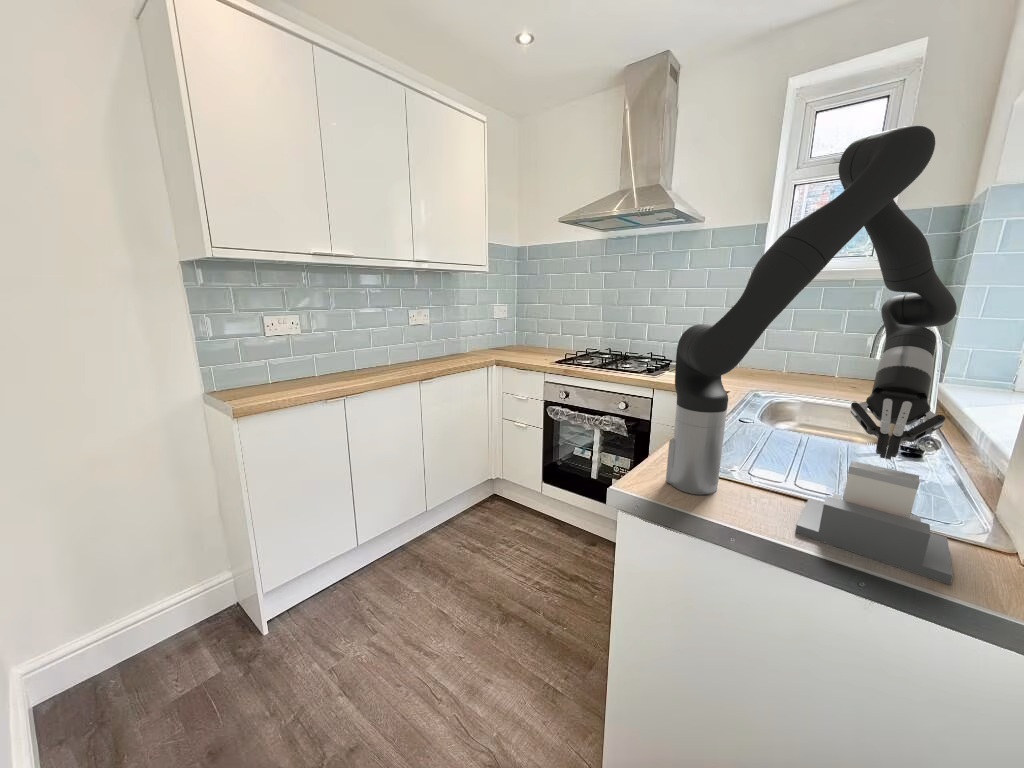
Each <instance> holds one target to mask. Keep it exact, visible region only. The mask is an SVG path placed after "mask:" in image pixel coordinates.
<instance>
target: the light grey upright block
mask: <svg viewBox="0 0 1024 768" xmlns="http://www.w3.org/2000/svg"><path fill="white" fill-rule="evenodd" d="M846 477H847V478H846V482H845V488H844V492H843V495H842V500H843V501H847V502H851V503H854V504H858V505H862V506H865V507H869V508H872V509H876V510H880V511H883V512H887V513H891V514H894V515H898V516H902V517H905V518H909V519H910V516H911V515H912V513H913V512H912V511H913V508H914V504H915V500H916V497H917V491H918V490H919V485H920V474H915V473H914V474H913V473H909V472H905V471H900V470H896V469H891V468H887V467H883V466H877V465H873V464H869V463H868V464H867V463H864V462H860V461H859V462H858V461H855V460H850V463H849V466H848V470H847V476H846Z"/></svg>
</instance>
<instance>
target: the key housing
mask: <svg viewBox="0 0 1024 768" xmlns="http://www.w3.org/2000/svg"><path fill="white" fill-rule="evenodd" d="M930 525H931V524H930V523H927V522H923V521H922V519H921V516H918V515H914V514H911V516H910V519H909V518H905V517H902V516H898V515H894V514H891V513H887V512H883V511H880V510H876V509H872V508H869V507H865V506H862V505H858V504H854V503H851V502H847V501H843V495H841V494H837V493H833V494H832V496H829V495H827V496H826V498H825V500H824V501H820V500H817V499H813V498H808V499H807V501H806V504H805V506H804V507H803V510H802V512H801V514H800V516H799V518H798V520H797V522H796V525H795V531H794V533H795V534H798V535H801V536H804V537H807V538H811V539H813V540H816V541H819V542H820V543H821V542H822V543H823V544H824V543H825V544H827V545H829V546H833V547H836V548H839V549H842V550H845V551H848V552H852V553H855V554H857V555H860V556H862V557H866V558H869V559H872V560H875V561H878V562H880V563H884V564H887V565H888V566H889V565H890V566H893V567H896V568H899V569H901V570H905V571H908V572H911V573H914V574H915V575H916V574H917V575H919V576H922V577H926V578H928V579H931V580H934V581H937V582H940V583H943V584H946V585H950V586H951V583H952V580H953V577H954V575H953V569H952V568H953V567H952V561H951V554H950V548H949V542H948V537H946V536H944V535H940V534H937V533H933V532H931V526H930Z"/></svg>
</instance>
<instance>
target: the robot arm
mask: <svg viewBox="0 0 1024 768" xmlns="http://www.w3.org/2000/svg"><path fill="white" fill-rule="evenodd" d="M935 148H936V136H935V134H934V132H933V130H931V129H930V128H929V127H927V126H923V125H906V126H901V127H896V128H892V129H888V130H883V131H880V132H877V133H872V134H869V135H865V136H862V137H860V138H858V139H855V140H854V141H853V142H851V143H850V144H849V145H848V146H847V148H845V150H844V152H843V153H842V155H841V157H840V159H839V164H838V177H839V181H840V183H841V186H842V188H843V191H842V192H841V193H839V194H838V195H837V196H835V197H834V198H833V199H831V200H829V201H828V202H827V203H825V204H824V205H821V206H820V207H819V208H817V209H816V210H814V211H813V212H810V214H808V215H806V216H805V217H803V218H801V219H800V220H799V221H796V223H794V224H793V225H792V226H790V227H789V228H788V229H787V230H785V231H784V232H783V233H782V234H781V235H780V236H779V237H778V238H777V239H776V240H775V242H773V244H771V246H770V247H769V248H768V249H767V250H766V252H765V253H764V254H763V255H762V256H761V257H760V259H759V260H758V261H757V263H756V264H755V266H754V268H753V270H752V272H751V274H750V276H749V278H748V281H747V284H746V286H745V289H744V291H743V292H742V294H741V296H740V298H739V299H738V300H737V302H736V303H734V305H733V306H732V307H731V308H730V309H729V310H728V311H727V312H726V313H725V314H724V315H723V316H722V317H721V318H720V319H719V320H718V321H716V323H715V324H713V325H712V324H708V323H701V324H699V323H698V324H695V325H692V326H690V327H689V328H687V329H686V330H685V331H684V332H683V333H682V335H681V336H680V338H679V340H678V343H677V346H676V354H675V372H674V387H675V388H674V389H675V392H676V404H675V418H674V427H673V436H672V438H671V439H669V441H668V442H669V443H668V450H667V451H668V453H667V461H666V462H667V463H666V474H665V483H668V484H670V485H671V486H672V487H674V488H676V489H677V490H678V491H682V492H684V493H688V494H691V495H698V496H699V495H700V496H701V495H702V496H703V495H704V496H706V495H711V494H714V493H715V492H717V491H718V485H719V479H720V478H719V476H720V469H721V463H722V462H721V461H722V455H723V445H724V437H725V430H726V429H725V428H726V420H727V412H728V404H729V394H728V393H727V392H726V389H725V388H724V385H723V383H722V376H723V375H726V374H727V373H729V372H731V371H732V370H733V369H735V368H736V367H737V366H738V365H739V363H740V362H741V361H742V360H743V359H744V357H745V356H746V355H747V354H748V352H749V351H750V350H751V349H752V347H753V346H754V345H755V344H756V343H757V341H759V339H760V337H761V336H762V335H763V333H764V332H765V331H766V329H767V328H768V327H769V326H770V325H771V324H772V322H773V321H774V320H775V319H776V318H777V317H778V316H779V315H780V314H781V313H782V312H783V311H784V310H785V309H786V308H787V307H788V305H790V304H791V302H792V301H794V299H795V298H796V297H797V296H798V295H799V294H800V293H801V292H802V291H803V290H804V289H805V288H806V287H807V286H808V285H809V284H810V283H811V282H812V281H813V280H814V279H815V278H816V277H817V276H818V275H819V274H820V273H821V272H822V271H823V270H824V269H825V267H826V266H827V265H828V264H829V262H830V261H832V259H833V258H834V257H835V256H836V255H837V254H838V253H839V252H840V251H841V250H842V249H843V248H844V247H845V245H847V243H849V242H850V241H851V240H852V238H854V237H855V236H856V235H857V234H858V233H859V232H860V231H861V230H862V229H863V228H864V229H865V232H867V235H868V236H869V239H870V241H871V243H872V246H873V248H874V251H875V254H876V257H877V260H878V264H879V267H880V272H881V275H882V279H883V282H884V285H885V288H886V289H888V290H889V291H891V292H896V293H908V294H900V295H894V296H892V297H890V298H889V299H887V300H886V301H885V302H884V303H883V305H882V307H881V317H882V321H883V326H884V330H885V343H884V347H883V351H882V352H883V353H882V356H881V358H880V360H879V362H878V365H877V369H876V372H875V378H874V381H873V386H872V388H871V389H872V390H871V394H870V395H869V396H867V398H866V400H865V401H863V402H856V401H854V402H852V403H851V404H850V414H851V415H852V416H853V417H854V419H856V421H857V423H859V425H860V426H861V427H862V428H863V430H864V431H865V432H866V434H868V435H870V436H875V437H877V444H876V447H875V448H876V449H875V454H876V455H879V458H881V459H885V460H891V459H892V458H896V457H897V456H898V454H899V450H900V446H901V442H908V443H914V442H916V441H918V440H919V439H921V438H924V437H925V436H928V435H929V434H931V433H933V432H935V431H936V430H939V429H941V428H942V427H943V425H944V423H945V420H946V417H945V415H943V414H936V413H935V412H932V410H931V406H930V404H929V402H928V399H929V395H930V390H931V389H930V388H931V382H932V379H933V371H934V356H935V350H936V346H937V335H936V334H935V332H933V330H932V329H929V328H933V327H934V328H935V327H941V326H944V325H946V324H948V323H950V322H952V320H953V319H954V318H955V316H956V314H957V303H956V302H957V301H956V300H955V298H954V296H953V294H952V293H951V292H950V291H949V289H948V288H947V286H945V284H944V283H943V281H941V279H940V277H939V276H938V274H937V272H936V270H935V267H934V262H933V258H932V254H931V249H930V245H929V242H928V241H927V238H926V237H925V235H924V233H923V232H922V231H921V229H919V227H918V226H917V225H916V224H915V223H914V221H912V220H911V219H910V218H909V217H908V216H907V215H906V214H905V213H904V212H903V210H902V209H901V208H900V207H899V206H898V204H897V202H896V201H895V198H897V197H898V196H899V195H900V194H901V193H903V191H905V190H906V189H907V188H908V187H909V186H910V185H912V183H914V182H915V180H916V179H918V178H919V176H920V175H921V174H922V173H923V172H924V170H925V169H926V168H927V166H928V164H929V162H930V161H931V159H932V157H933V155H934V152H935ZM869 411H870V412H871V414H872V415H873V417H875V419H876V420H877V421H879V422H880V423H879V425H877V423H876V422H875V421H874V420H873V419H872V417H871V416H870V415H869V414H868V412H869ZM921 419H923V420H922V422H921V423H919V424H917V425H916V426H914V427H911V428H910V429H909V430H905V429H906V426H909V425H913V424H914V423H916V422H917V421H919V420H921ZM891 424H893V425H894V429H893V432H892V433H891V435H890V431H891V430H890V429H891V427H890V426H891Z"/></svg>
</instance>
